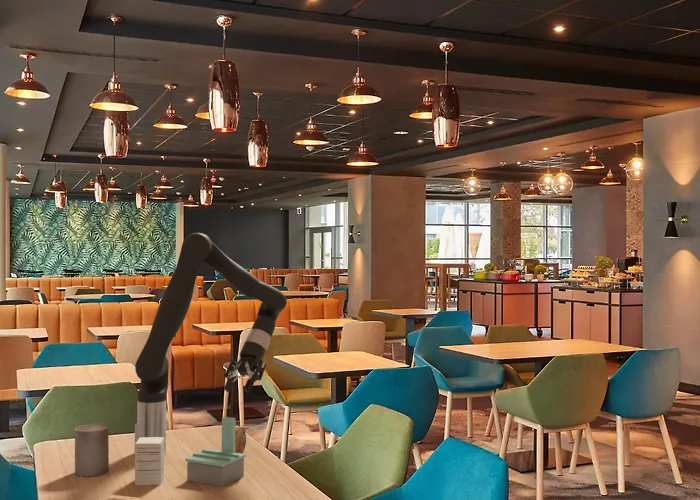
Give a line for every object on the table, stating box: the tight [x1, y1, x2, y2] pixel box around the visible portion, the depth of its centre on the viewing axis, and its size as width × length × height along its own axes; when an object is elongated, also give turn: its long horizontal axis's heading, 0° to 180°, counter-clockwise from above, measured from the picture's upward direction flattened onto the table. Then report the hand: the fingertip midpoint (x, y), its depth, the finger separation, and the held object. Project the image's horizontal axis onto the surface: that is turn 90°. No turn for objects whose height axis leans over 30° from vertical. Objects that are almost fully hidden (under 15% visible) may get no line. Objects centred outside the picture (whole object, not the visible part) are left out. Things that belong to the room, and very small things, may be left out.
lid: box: [185, 416, 247, 467], centre depth 223 cm, size 13×13×11 cm
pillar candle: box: [74, 422, 110, 477], centre depth 230 cm, size 10×10×15 cm
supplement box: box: [134, 437, 165, 486], centre depth 219 cm, size 7×7×13 cm
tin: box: [234, 426, 247, 454], centre depth 251 cm, size 15×3×8 cm, turn 168°
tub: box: [186, 458, 245, 487], centre depth 223 cm, size 12×11×6 cm
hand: (236, 391), depth 238 cm, fingers open, 8 cm apart
